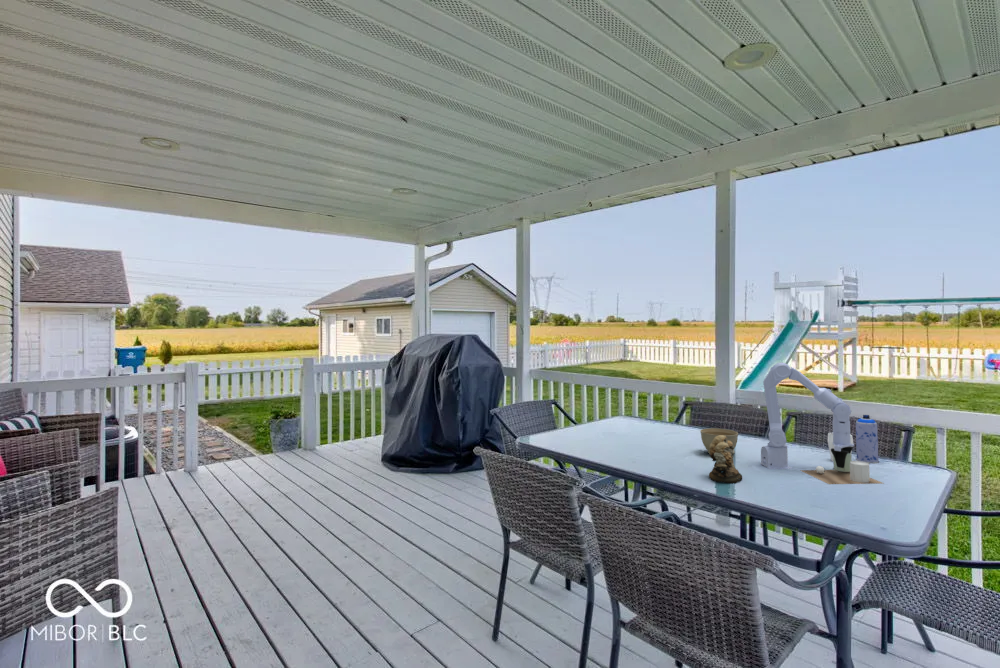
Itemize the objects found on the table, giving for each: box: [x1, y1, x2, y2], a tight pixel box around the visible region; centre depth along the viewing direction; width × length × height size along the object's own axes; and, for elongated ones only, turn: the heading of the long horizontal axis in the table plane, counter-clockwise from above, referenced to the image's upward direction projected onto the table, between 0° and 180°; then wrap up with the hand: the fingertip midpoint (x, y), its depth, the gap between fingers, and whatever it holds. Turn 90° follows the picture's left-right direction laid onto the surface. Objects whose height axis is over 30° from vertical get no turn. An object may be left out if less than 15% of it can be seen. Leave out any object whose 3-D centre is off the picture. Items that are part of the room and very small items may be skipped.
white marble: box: [815, 465, 826, 474], centre depth 189 cm, size 3×3×3 cm
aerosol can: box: [855, 414, 880, 464], centre depth 206 cm, size 8×8×20 cm
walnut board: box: [800, 469, 885, 485], centre depth 184 cm, size 20×18×1 cm
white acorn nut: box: [850, 460, 871, 483], centre depth 179 cm, size 6×6×7 cm
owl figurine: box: [708, 435, 743, 485], centre depth 188 cm, size 18×12×17 cm, turn 150°
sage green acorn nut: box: [832, 453, 853, 472], centre depth 190 cm, size 6×6×7 cm
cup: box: [827, 431, 854, 462], centre depth 206 cm, size 9×9×12 cm
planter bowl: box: [699, 427, 739, 455], centre depth 223 cm, size 16×16×11 cm
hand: (842, 465), depth 190 cm, fingers closed on sage green acorn nut, 5 cm apart
